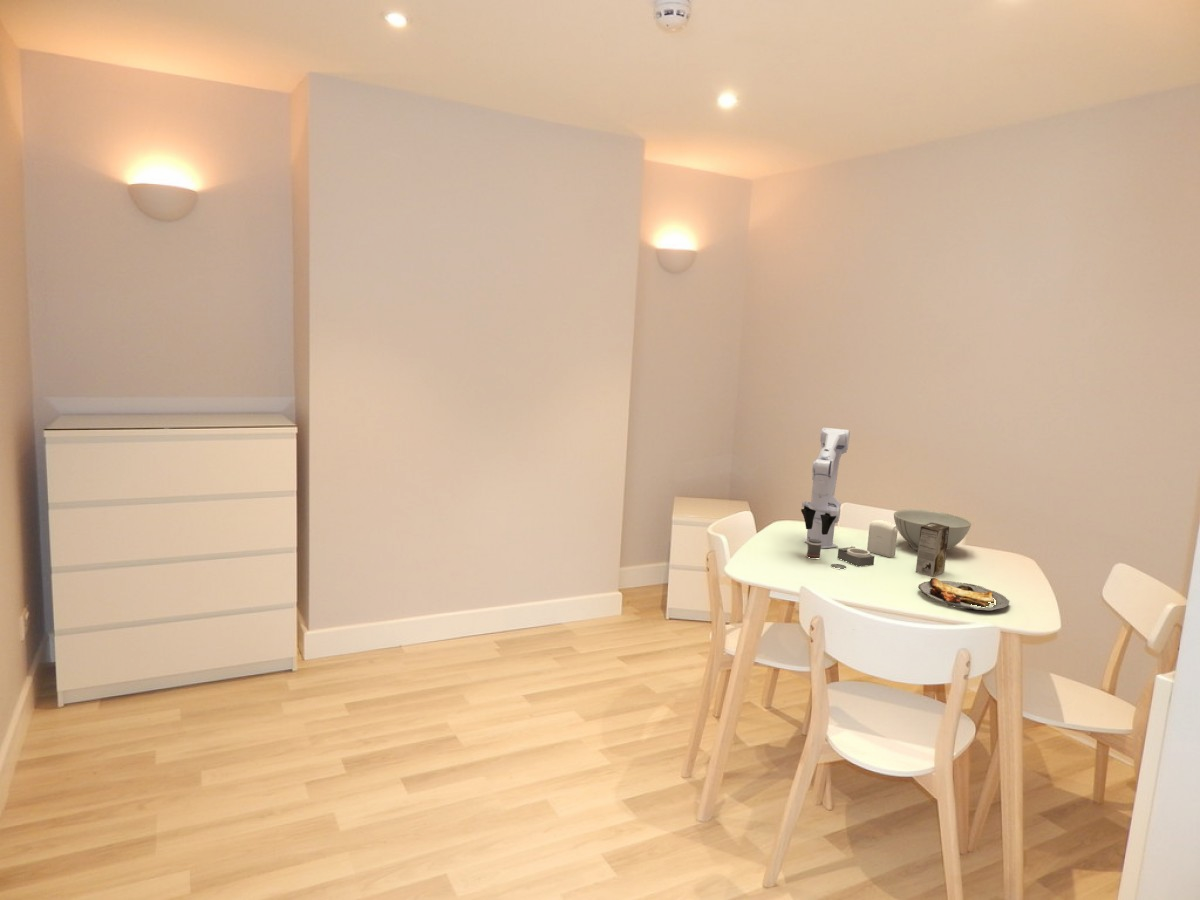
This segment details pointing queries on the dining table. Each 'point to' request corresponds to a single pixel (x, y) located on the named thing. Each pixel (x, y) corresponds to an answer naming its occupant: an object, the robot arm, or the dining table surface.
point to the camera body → (856, 556)
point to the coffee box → (932, 549)
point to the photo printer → (882, 538)
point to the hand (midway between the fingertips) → (816, 531)
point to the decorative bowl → (914, 519)
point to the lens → (814, 548)
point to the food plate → (963, 594)
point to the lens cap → (838, 566)
